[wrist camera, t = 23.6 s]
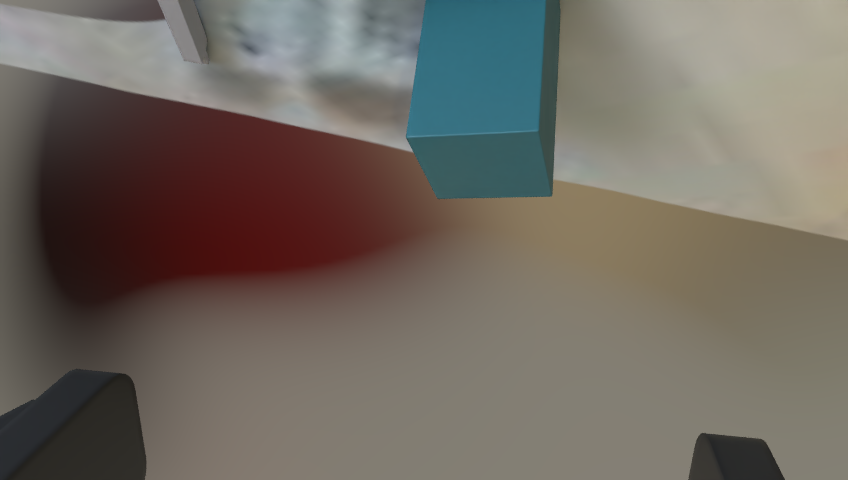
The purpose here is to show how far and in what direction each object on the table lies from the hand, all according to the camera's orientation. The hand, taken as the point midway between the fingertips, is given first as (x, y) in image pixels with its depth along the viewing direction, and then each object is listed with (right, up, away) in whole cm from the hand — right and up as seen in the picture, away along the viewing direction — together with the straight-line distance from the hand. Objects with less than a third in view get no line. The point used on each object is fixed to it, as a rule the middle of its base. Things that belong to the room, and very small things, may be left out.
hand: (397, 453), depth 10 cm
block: (+4, +15, +22) cm, 27 cm away
